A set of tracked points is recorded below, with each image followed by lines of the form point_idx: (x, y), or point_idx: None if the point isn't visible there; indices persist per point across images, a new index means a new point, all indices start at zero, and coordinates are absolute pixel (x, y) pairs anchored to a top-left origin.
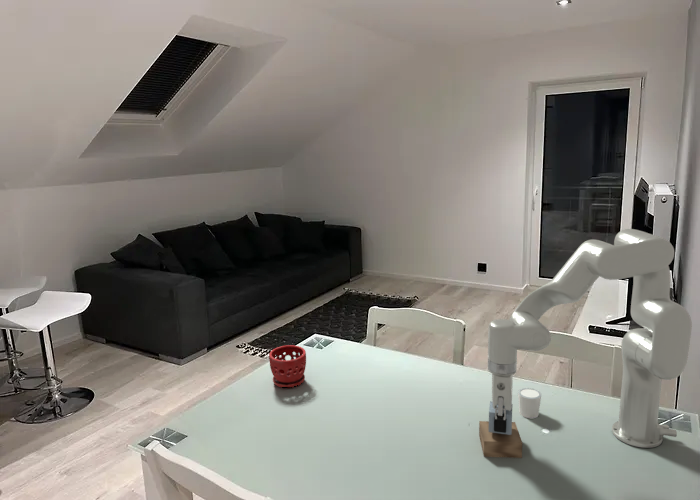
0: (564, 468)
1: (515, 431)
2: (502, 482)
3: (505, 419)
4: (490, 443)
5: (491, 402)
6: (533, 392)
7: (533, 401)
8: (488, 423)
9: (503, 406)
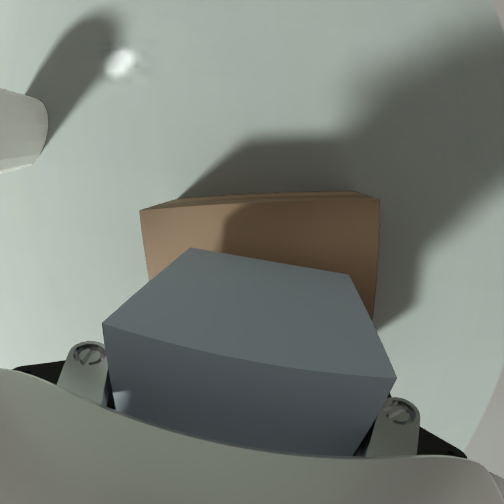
0: (401, 32)
1: (251, 222)
2: (486, 294)
3: (391, 401)
4: None
5: None
6: None
7: None
8: None
9: (190, 424)
